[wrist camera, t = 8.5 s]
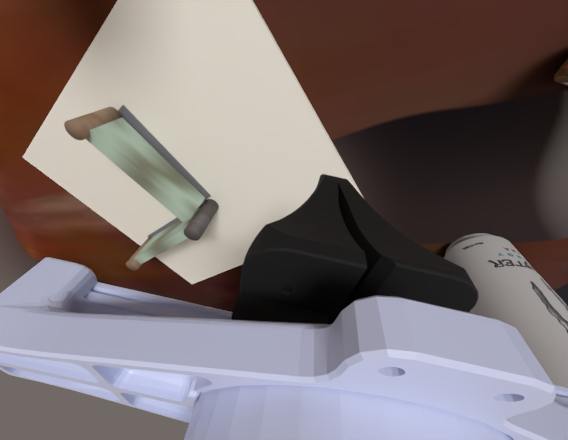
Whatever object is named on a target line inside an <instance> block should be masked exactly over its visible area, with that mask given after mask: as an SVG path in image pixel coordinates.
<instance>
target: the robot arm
mask: <svg viewBox="0 0 568 440" xmlns="http://www.w3.org/2000/svg"><path fill="white" fill-rule="evenodd" d="M478 299H479V298H478V290H477V289H476V287H475V285H474V284H473V282H472V280H471V279H470V277H469V275H468V273H467V272H466V270H465V269H464V268H462V267H460V266H458V265H456V264H454V263H452V262H450V261H448V260H446V259H444V258H442V257H440V256H438V255H436V254H434V253H433V252H431V251H429V250H427V249H426V248H424V247H422V246H421V245H419V244H417V243H416V242H414V241H413V240H411V239H409V238H408V237H407V236H405V235H404V234H402V233H401V232H399V231H398V230H397V229H395V228H394V227H393V226H392V225H390V224H389V223H388V222H387V221H385V220H384V219H383V218H382V217H381V216H380V215H379V214H378V213H377V212H376V211H375V210H374V209H373V208H372V207H371V206H370V205H369V204H368V203H367V202H366V201H365V200H364V198H363V197H362V196H361V195H360V194H359V192H358V191H357V190H356V189H355V188H354V186H353V185H352V184H351V183H350V182H349V181H348V180H347V179H343V178H339V177H335V176H330V175H326V174H322V175H320V178H319V181H318V185H317V187H316V189H315V191H314V192H313V193H312V195H311V196H310V197H309V198H308V199H307V200H306V202H305V203H303V204H302V205H301V206H300V207H299V208H298V209H296V210H295V211H294V212H292V213H291V214H289V215H287V216H286V217H284V218H282V219H280V220H278V221H275V222H272V223H269V224H266V225H265V226H264V227H263V228H262V230H261V231H260V232H259V233H258V235H257V236H256V238H255V239H254V241H253V242H252V244H251V246H250V247H249V249H248V251H247V253H246V256H245V259H244V262H243V265H242V269H241V278H240V289H239V295H238V298H237V301H236V304H235V307H234V310H233V312H229V311H224V310H220V309H215V308H211V307H206V306H202V305H197V304H193V303H189V302H184V301H180V300H175V299H171V298H166V297H162V296H157V295H153V294H148V293H144V292H139V291H135V290H130V289H126V288H122V287H117V286H113V285H108V284H104V283H99V282H97V279H96V276H95V274H94V273H93V272H92V270H91V269H89V268H88V267H86V266H84V265H81V264H77V263H73V262H68V261H64V260H59V259H55V258H50V257H49V258H45V259H43V260H42V261H41V262H40V263H38V264H37V265H36V266H35V267H33V268H32V269H31V270H29V271H28V272H27V273H26V274H24V275H23V276H22V277H21V278H19V279H18V280H17V281H16V282H14V283H13V284H12V285H11V286H9V287H8V288H7V289H6V290H4V291H3V292H2V293H0V370H2V371H4V372H6V373H7V374H9V375H13V376H17V377H21V378H25V379H30V380H34V381H38V382H43V383H47V384H51V385H55V386H59V387H62V388H66V389H70V390H74V391H78V392H81V393H85V394H89V395H92V396H96V397H100V398H103V399H107V400H110V401H114V402H117V403H121V404H124V405H128V406H131V407H135V408H139V409H142V410H145V411H149V412H153V413H156V414H160V415H163V416H167V417H171V418H174V419H177V420H181V421H184V422H188V423H189V426H188V429H187V432H186V435H185V438H184V440H568V387H564V386H559V385H555V384H553V383H552V382H551V380H550V378H549V377H548V375H547V374H546V372H545V371H544V369H543V368H542V366H541V365H540V363H539V362H538V360H537V359H536V357H535V356H534V354H533V353H532V351H531V350H530V348H529V347H528V345H527V344H526V342H525V340H524V339H523V337H522V336H521V334H520V333H519V331H518V330H517V328H515V327H513V326H511V325H509V324H506V323H504V322H502V321H500V320H497V319H494V318H491V317H486V316H482V315H477V314H473V313H469V311H470V310H471V309H472V308H473V307H474V306H475V305H476V303H477V301H478Z"/></svg>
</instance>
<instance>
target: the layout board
mask: <svg viewBox="0 0 568 440" xmlns="http://www.w3.org/2000/svg"><path fill="white" fill-rule="evenodd" d="M107 107H113V108H115V109H116V110H118V111H119V113H120V114H121V116H122V118H123V119H124V120H125V121H126V122H127V123H128V124H129V125H130V126H132V127H133V128H134V129H135V130H136V131H137V132H138V133H139V134H140V135H141V136H142V137H143V138H144V139H145V140H146V141H147V142H148V143H149V144H150V145H151V146H152V147H153V148H154V149H155V150H156V151H157V152H158V153H159V154H160V155H162V156H163V157H164V158H165V159H166V160H167V161H168V162H169V163H170V164H171V165H172V166H173V167H174V168H175V169H176V170H177V171H178V172H179V173H180V174H181V175H182V176H183V177H184V178H185V179H186V180H187V181H188V182H189V183H190V184H192V185H193V186H194V187H195V188H196V189H197V190H198V191H199V192H200V193H201V194H202V195H203V196H204V197H205V199H204V201H203V202H202V203H201V205H200V206H199V207H198V208H200V207H201V206H202V204H203V203H204V202H205V200H207V199H212V200H214V201H216V202H217V203H218V205H219V208H218V210H217V212H216V213H215V215H214V217H213V218H212V220H211V222H210V223H209V225H208V226H207V228H206V230H205V231H204V233H203V235H202V236H201V238H200V239H199V240H196V241H194V240H190V239H189V238H188V239H186V240H184V241H183V242H181V243H179V244H177V245H175V246H173V247H172V248H170V249H168V250H166V251H164V252H162V253H161V254H159V255H157V256H155V257H156V258H158V259H159V260H160V261H162V262H163V263H164V264H166V265H167V266H168V267H170V268H171V269H172V270H174V271H175V272H176V273H178V274H179V275H180V276H182V277H183V278H184V279H186V280H187V281H188V282H190V283H191V284H194V283H197V282H199V281H202V280H204V279H207V278H209V277H212V276H214V275H217V274H219V273H222V272H224V271H227V270H229V269H232V268H234V267H237V266H239V265H242V264H243V262H244V259H245V256H246V253H247V251H248V249H249V247H250V246H251V244H252V242H253V241H254V239H255V238H256V236H257V235H258V233H259V232H260V231H261V230H262V228H263V227H264V226H265V225H266V224H269V223H272V222H275V221H278V220H280V219H282V218H284V217H286V216H287V215H289V214H291V213H292V212H294V211H295V210H296V209H298V208H299V207H300V206H301V205H302V204H303V203H305V202H306V200H307V199H308V198H309V197H310V196H311V195H312V193H313V192H314V191H315V189H316V187H317V185H318V181H319V178H320V175H322V174H326V175H330V176H335V177H339V178H343V179H347V180H348V181H349V182H350V183H351V184H352V185H353V186H354V188H355V189H356V190H357V191H358V192H359V194H360V195H361V196H362V194H361V193H360V191H359V189H358V187H357V185H356V184H355V182H354V180H353V178H352V176H351V175H350V173H349V171H348V169H347V168H346V166H345V164H344V162H343V160H342V159H341V157H340V155H339V153H338V152H337V150H336V148H335V146H334V144H333V143H332V141H331V139H330V137H329V135H328V134H327V132H326V130H325V128H324V127H323V125H322V123H321V121H320V119H319V118H318V116H317V114H316V112H315V110H314V109H313V107H312V105H311V103H310V102H309V100H308V98H307V96H306V94H305V93H304V91H303V89H302V87H301V86H300V84H299V82H298V80H297V78H296V77H295V75H294V73H293V71H292V69H291V68H290V66H289V64H288V62H287V61H286V59H285V57H284V55H283V53H282V52H281V50H280V48H279V46H278V45H277V43H276V41H275V39H274V37H273V36H272V34H271V32H270V30H269V28H268V27H267V25H266V23H265V21H264V20H263V18H262V16H261V14H260V12H259V11H258V9H257V7H256V5H255V3H254V2H253V0H117V2H116V4H115V5H114V7H113V9H112V10H111V12H110V14H109V15H108V17H107V18H106V20H105V22H104V23H103V25H102V27H101V28H100V30H99V32H98V33H97V35H96V37H95V38H94V40H93V42H92V43H91V45H90V47H89V48H88V50H87V52H86V53H85V55H84V56H83V58H82V60H81V61H80V63H79V65H78V66H77V68H76V70H75V71H74V73H73V75H72V76H71V78H70V80H69V81H68V83H67V85H66V86H65V88H64V89H63V91H62V93H61V94H60V96H59V98H58V99H57V101H56V103H55V104H54V106H53V108H52V109H51V111H50V113H49V114H48V116H47V118H46V119H45V121H44V123H43V124H42V126H41V127H40V129H39V131H38V132H37V134H36V136H35V137H34V139H33V141H32V142H31V144H30V146H29V147H28V149H27V151H26V152H25V154H24V156H23V158H24V159H25V160H27V161H28V162H29V163H31V164H32V165H33V166H35V167H36V168H37V169H39V170H40V171H41V172H43V173H44V174H45V175H47V176H48V177H49V178H51V179H52V180H53V181H55V182H56V183H57V184H59V185H60V186H61V187H63V188H64V189H65V190H67V191H68V192H69V193H71V194H72V195H73V196H75V197H76V198H77V199H79V200H80V201H81V202H83V203H84V204H85V205H87V206H88V207H89V208H91V209H92V210H93V211H95V212H96V213H97V214H99V215H100V216H101V217H103V218H104V219H105V220H107V221H108V222H109V223H111V224H112V225H113V226H115V227H116V228H117V229H119V230H120V231H121V232H123V233H124V234H125V235H127V236H128V237H129V238H131V239H132V240H133V241H135V242H136V243H138V244H139V245H140V246H141V245H142V244H143V243H144V242H145V241H146V240H147V239H148V237H153V236H154V235H156V234H158V233H159V232H161V231H163V230H164V229H166V228H167V227H169V226H171V225H172V224H174V223H175V222H177V221H179V220H180V219H179V218H177V217H176V216H175V215H174V214H173V213H171V212H170V211H169V210H168V209H167V208H166V207H164V206H163V205H162V204H161V203H160V202H159V201H157V200H156V199H155V198H154V197H153V196H152V195H150V194H149V193H148V192H147V191H146V190H145V189H143V188H142V187H141V186H140V185H139V184H138V183H136V182H135V181H134V180H133V179H132V178H131V177H129V176H128V175H127V174H126V173H125V172H124V171H122V170H121V169H120V168H119V167H118V166H116V165H115V164H114V163H113V162H112V161H111V160H109V159H108V158H107V157H106V156H105V155H104V154H102V153H101V152H100V151H99V150H98V149H97V148H95V147H94V146H93V145H92V144H91V143H90V142H88V141H87V140H86V139H84V140H77V139H74V138H73V137H71V136H70V135H69V134H68V132H67V131H66V129H65V127H64V123H65V121H67V120H70V119H74V118H77V117H80V116H83V115H86V114H89V113H92V112H95V111H98V110H101V109H104V108H107ZM362 197H363V196H362Z"/></svg>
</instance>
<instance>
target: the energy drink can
mask: <svg viewBox="0 0 568 440" xmlns="http://www.w3.org/2000/svg"><path fill="white" fill-rule="evenodd" d="M444 259H446V260H448V261H450V262H452V263H454V264H456V265H458V266H460V267H462V268H464V269H465V270H466V272H467V273H468V275H469V277H470V279H471V280H472V282H473V284H474V285H475V287H476V289H477V290H478V298H479V299H478V301H477V303H476V305H475V306H474V307H473V308H472V309H471V310H470V311H469V313H473V314H477V315H482V316H486V317H491V318H494V319H497V320H500V321H502V322H504V323H506V324H509V325H511V326H513V327H515V328H517V330H518V331H519V333H520V334H521V336H522V337H523V339H524V340H525V342H526V344H527V345H528V347H529V348H530V350H531V351H532V353H533V354H534V356H535V357H536V359H537V360H538V362H539V363H540V365H541V366H542V368H543V369H544V371H545V372H546V374H547V375H548V377H549V378H550V380H551V382H552V383H553V384H555V385H559V386H564V387H568V306H567V305H566V304H565V303H564V302H563V301H562V299H561V298H560V297H559V296H558V295H557V294H556V293H555V292H554V291H553V289H552V288H551V287H550V286H549V285H548V284H547V283H546V282H545V281H544V279H543V278H542V277H541V276H540V275H539V274H538V273H537V272H536V271H535V269H534V268H533V267H532V266H531V265H530V264H529V263H528V262H527V261H526V259H525V258H524V257H523V256H522V255H521V254H520V253H519V252H518V251H517V249H516V248H515V247H514V246H513V245H512V244H511V243H510V242H509V241H508V240H506V239H504V238H501V237H497V236H493V235H490V234H485V233H478V234H471V235H467V236H464V237H462V238H459V239H458V240H456V241H454V242H453V243H452V244H451V245H450V246H449V247H448V248H447V250H446V253H445V257H444Z"/></svg>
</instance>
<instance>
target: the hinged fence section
mask: <svg viewBox="0 0 568 440" xmlns="http://www.w3.org/2000/svg"><path fill="white" fill-rule="evenodd" d="M64 127H65V129H66V131H67V132H68V134H69V135H70V136H71V137H73V138H74V139H77V140H84V139H86V140H87V141H88V142H90V143H91V144H92V145H93V146H94V147H95V148H97V149H98V150H99V151H100V152H101V153H102V154H104V155H105V156H106V157H107V158H108V159H109V160H111V161H112V162H113V163H114V164H115V165H116V166H118V167H119V168H120V169H121V170H122V171H124V172H125V173H126V174H127V175H128V176H129V177H131V178H132V179H133V180H134V181H135V182H136V183H138V184H139V185H140V186H141V187H142V188H143V189H145V190H146V191H147V192H148V193H149V194H150V195H152V196H153V197H154V198H155V199H156V200H157V201H159V202H160V203H161V204H162V205H163V206H164V207H166V208H167V209H168V210H169V211H170V212H171V213H173V214H174V215H175V216H176V217H177V218H179V219H180V220H181V221H182V222H183V223H184V222H186V221H187V220H189V219H190V218H191V217H192V216H193V214H194V213H195V211H196V210H197V209H198V207H199V206H200V205H201V203H202V202H203V201H204V199H205V197H204V196H203V195H202V194H201V193H200V192H199V191H198V190H197V189H196V188H195V187H194V186H193V185H192V184H190V183H189V182H188V181H187V180H186V179H185V178H184V177H183V176H182V175H181V174H180V173H179V172H178V171H177V170H176V169H175V168H174V167H173V166H172V165H171V164H170V163H169V162H168V161H167V160H166V159H165V158H164V157H163V156H162V155H160V154H159V153H158V152H157V151H156V150H155V149H154V148H153V147H152V146H151V145H150V144H149V143H148V142H147V141H146V140H145V139H144V138H143V137H142V136H141V135H140V134H139V133H138V132H137V131H136V130H135V129H134V128H133V127H132V126H130V125H129V124H128V123H127V122H126V121H125V120H124V119H123V118H122V116H121V114H120V113H119V111H118V110H116V109H115V108H113V107H107V108H104V109H101V110H98V111H95V112H92V113H89V114H86V115H83V116H80V117H77V118H74V119H70V120H67V121H65V123H64Z"/></svg>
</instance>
